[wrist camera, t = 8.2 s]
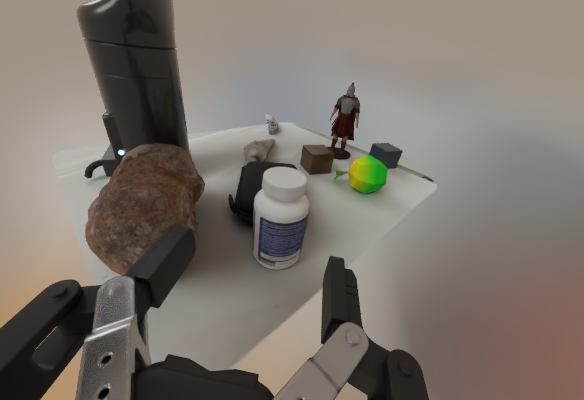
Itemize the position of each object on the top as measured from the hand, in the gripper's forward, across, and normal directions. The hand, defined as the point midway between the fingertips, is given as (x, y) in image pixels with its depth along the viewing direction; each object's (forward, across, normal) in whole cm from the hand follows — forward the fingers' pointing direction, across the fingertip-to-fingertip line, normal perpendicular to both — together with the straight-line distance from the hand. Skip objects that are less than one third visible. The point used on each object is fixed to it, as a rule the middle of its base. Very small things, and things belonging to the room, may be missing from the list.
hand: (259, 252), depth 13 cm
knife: (+56, +13, +9) cm, 58 cm away
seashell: (+36, +9, +10) cm, 38 cm away
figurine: (+43, -8, +9) cm, 45 cm away
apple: (+27, -11, +10) cm, 31 cm away
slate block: (+41, -18, +9) cm, 46 cm away
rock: (+9, +7, +4) cm, 12 cm away
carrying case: (+20, +4, +10) cm, 22 cm away
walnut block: (+33, -3, +9) cm, 34 cm away
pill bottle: (+9, 0, +10) cm, 13 cm away
